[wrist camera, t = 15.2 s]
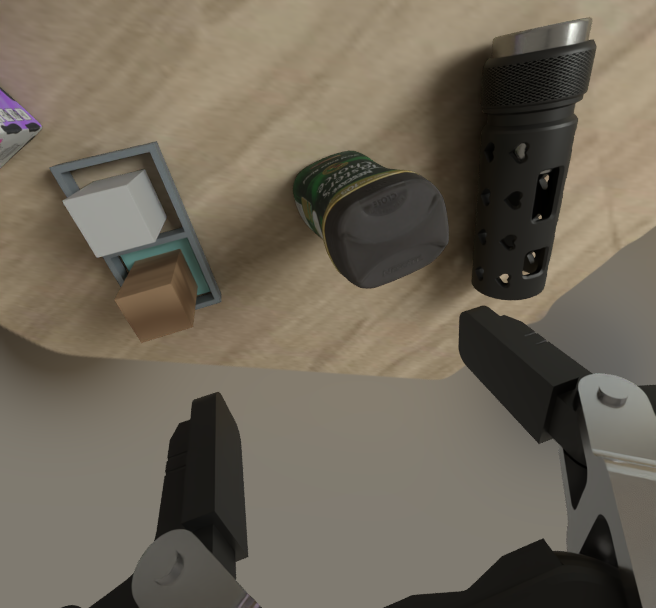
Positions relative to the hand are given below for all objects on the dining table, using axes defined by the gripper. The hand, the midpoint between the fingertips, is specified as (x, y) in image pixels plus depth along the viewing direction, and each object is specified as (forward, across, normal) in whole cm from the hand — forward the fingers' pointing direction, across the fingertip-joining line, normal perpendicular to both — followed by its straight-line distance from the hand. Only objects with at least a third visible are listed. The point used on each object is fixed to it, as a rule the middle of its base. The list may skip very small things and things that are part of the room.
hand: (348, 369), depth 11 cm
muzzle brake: (+32, -29, +6) cm, 44 cm away
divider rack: (+32, +13, +3) cm, 35 cm away
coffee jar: (+32, -8, +3) cm, 33 cm away
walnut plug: (+32, +13, +8) cm, 35 cm away
